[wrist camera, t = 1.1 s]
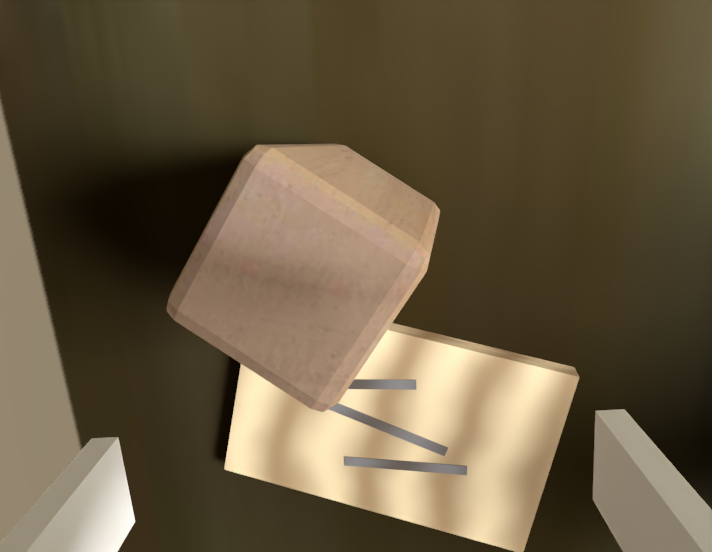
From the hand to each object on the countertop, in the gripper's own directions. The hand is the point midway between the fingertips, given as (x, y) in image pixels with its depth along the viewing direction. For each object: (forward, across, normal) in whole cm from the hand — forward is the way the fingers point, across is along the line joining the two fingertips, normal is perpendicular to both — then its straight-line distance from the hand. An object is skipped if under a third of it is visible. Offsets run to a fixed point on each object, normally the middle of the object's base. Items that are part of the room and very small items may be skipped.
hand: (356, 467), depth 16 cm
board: (+30, -1, +15) cm, 34 cm away
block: (+32, +1, -1) cm, 32 cm away
